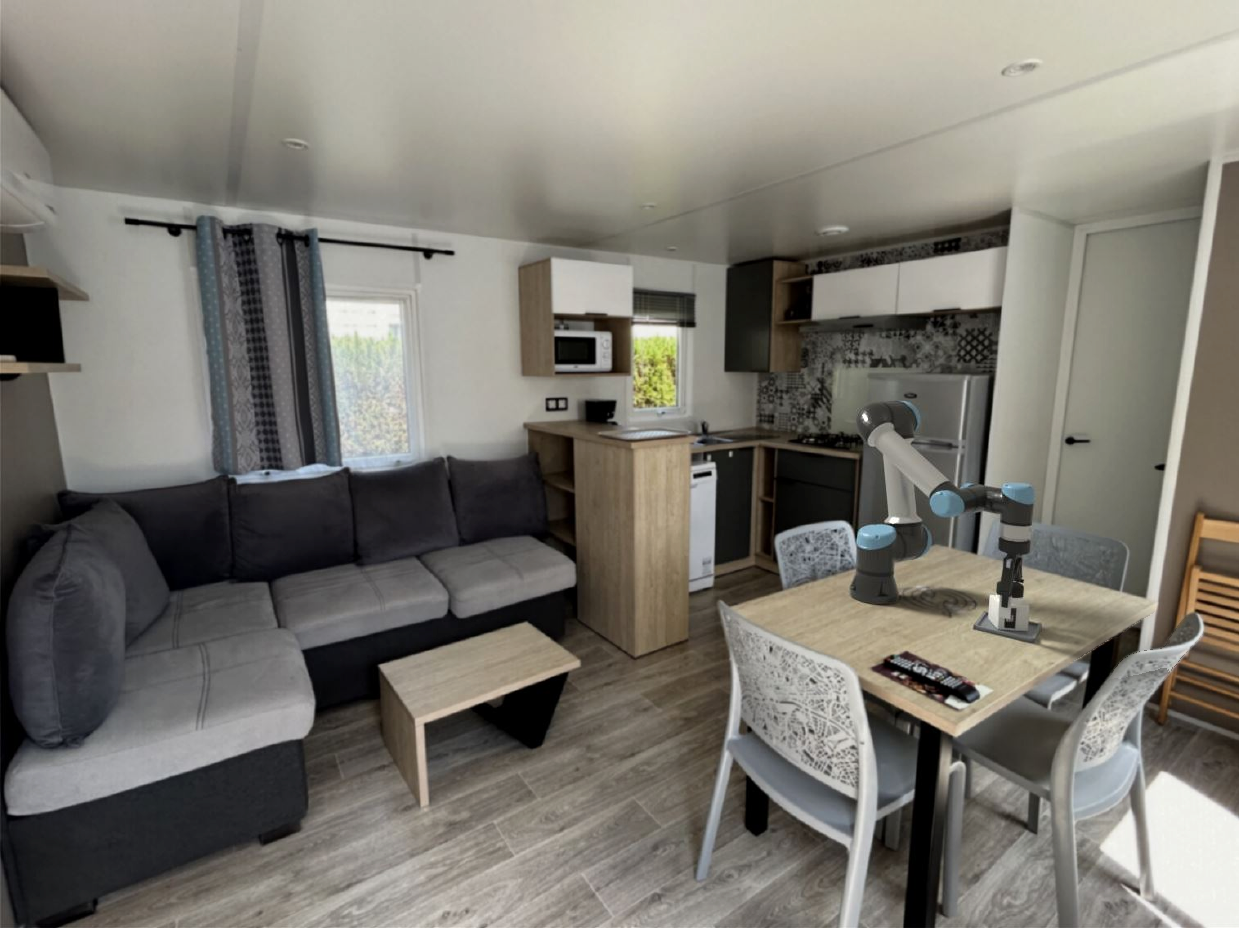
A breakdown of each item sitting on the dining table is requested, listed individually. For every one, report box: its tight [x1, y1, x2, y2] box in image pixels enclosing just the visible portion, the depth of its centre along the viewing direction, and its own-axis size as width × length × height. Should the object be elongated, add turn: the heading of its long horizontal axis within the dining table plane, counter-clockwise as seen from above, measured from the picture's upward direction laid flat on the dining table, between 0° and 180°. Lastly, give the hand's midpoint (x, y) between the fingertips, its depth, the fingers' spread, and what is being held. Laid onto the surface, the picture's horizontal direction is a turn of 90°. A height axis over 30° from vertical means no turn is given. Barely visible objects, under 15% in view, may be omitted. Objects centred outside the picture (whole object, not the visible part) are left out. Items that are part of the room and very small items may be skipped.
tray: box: [972, 610, 1043, 645], centre depth 169 cm, size 14×14×1 cm
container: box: [988, 580, 1031, 631], centre depth 168 cm, size 8×8×13 cm
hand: (1008, 610), depth 168 cm, fingers open, 12 cm apart
